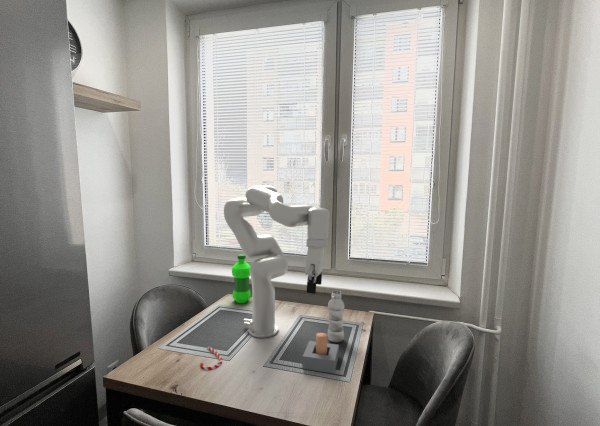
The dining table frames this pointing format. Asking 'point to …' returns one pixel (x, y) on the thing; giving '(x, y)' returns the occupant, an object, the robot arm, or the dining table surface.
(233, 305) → the dining table surface
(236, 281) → the plastic bottle
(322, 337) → the peg
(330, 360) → the socket block
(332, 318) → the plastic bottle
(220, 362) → the candy cane
